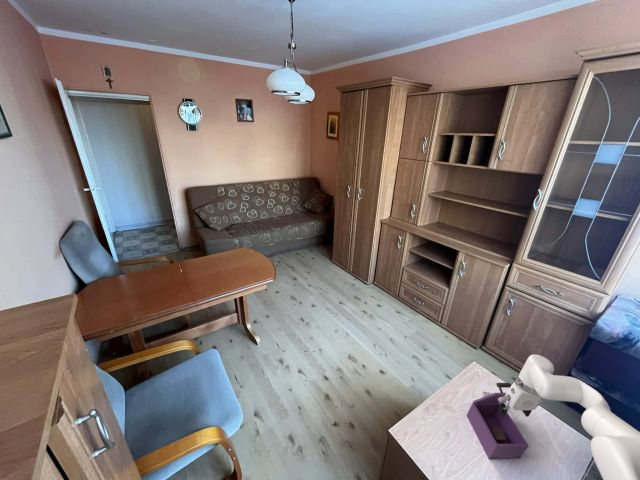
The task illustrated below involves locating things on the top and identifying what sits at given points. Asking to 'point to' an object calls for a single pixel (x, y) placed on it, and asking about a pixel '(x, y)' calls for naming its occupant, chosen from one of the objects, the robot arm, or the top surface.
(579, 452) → the top surface
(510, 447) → the file box
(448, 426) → the top surface
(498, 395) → the file box lid
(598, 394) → the robot arm
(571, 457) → the top surface
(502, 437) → the block
